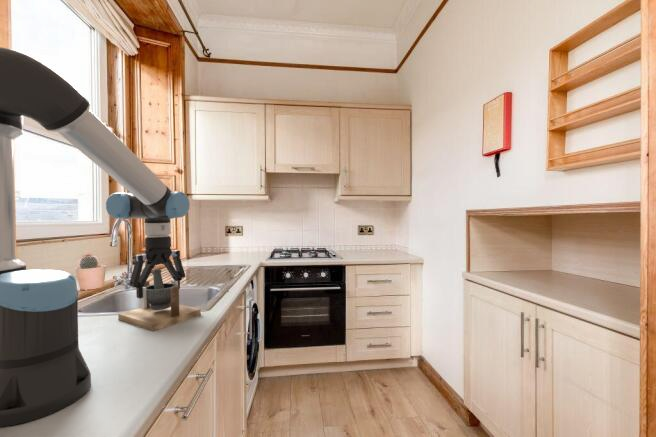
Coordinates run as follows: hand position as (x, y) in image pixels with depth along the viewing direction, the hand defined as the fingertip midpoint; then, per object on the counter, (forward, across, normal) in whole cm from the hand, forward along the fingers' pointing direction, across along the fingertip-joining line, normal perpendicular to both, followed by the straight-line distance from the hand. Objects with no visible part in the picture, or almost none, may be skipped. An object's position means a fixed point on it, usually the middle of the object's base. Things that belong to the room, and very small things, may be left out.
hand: (159, 303), depth 101 cm
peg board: (+5, 0, 0) cm, 5 cm away
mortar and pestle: (+1, 0, 0) cm, 1 cm away
